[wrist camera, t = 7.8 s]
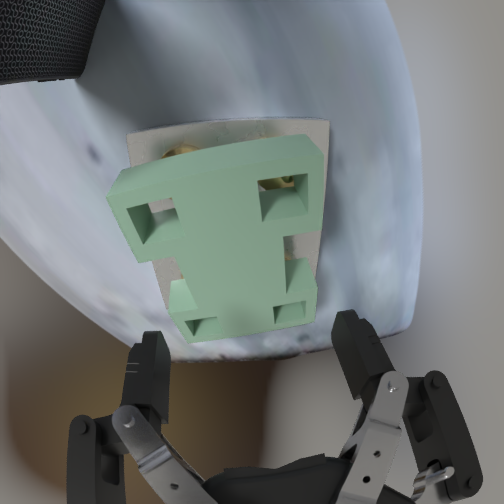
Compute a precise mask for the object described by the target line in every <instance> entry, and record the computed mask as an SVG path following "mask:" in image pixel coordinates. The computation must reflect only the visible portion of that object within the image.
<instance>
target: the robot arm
mask: <svg viewBox="0 0 504 504" xmlns="http://www.w3.org/2000/svg"><path fill="white" fill-rule="evenodd" d="M331 339H332V343H333V346H334V349H335V351H336V354H337V356H338V359H339V362H340V364H341V367H342V370H343V372H344V375H345V378H346V380H347V383H348V386H349V388H350V391H351V394H352V397H353V399H354V400H356V399H360V398H361V399H362V402H363V404H362V406H361V409H360V412H359V414H358V417H357V419H356V422H355V424H354V427H353V429H352V432H351V434H350V436H349V438H348V440H347V442H346V443H345V445H344V447H343V448H342V451H341V453H340V455H339V457H338V458H335V457H325V455H324V453H323V454H319V455H315V456H311V457H306V458H301V459H299V460H296V461H294V462H292V463H289V464H287V465H285V466H282V467H280V468H277V469H269V468H257V467H239V468H226V469H224V472H222V473H219V474H217V475H214V476H213V477H211V478H209V479H208V480H206V481H205V480H204V479H203V478H202V477H201V476H200V475H199V474H198V473H197V472H196V471H195V470H194V469H193V468H192V467H191V466H190V465H189V464H188V463H187V462H186V461H185V460H184V459H183V458H182V457H181V456H180V455H179V454H178V452H177V451H176V450H175V449H174V448H173V447H172V445H171V444H170V443H169V442H168V441H167V439H166V438H165V437H164V436H163V434H162V433H161V424H168V412H169V384H170V366H171V357H170V351H169V348H168V346H167V344H166V341H165V339H164V337H163V334H162V332H161V331H145V332H144V333H143V338H142V343H135V344H134V346H133V347H132V349H131V350H130V352H129V356H128V362H127V363H128V365H127V367H126V373H125V380H124V387H123V393H122V401H121V404H120V406H119V408H118V409H116V410H115V412H114V413H113V414H111V415H109V416H105V417H101V418H96V419H91V418H90V417H89V416H86V415H79V416H77V417H75V418H74V419H73V420H72V422H71V424H70V430H69V440H68V453H67V504H126V497H125V483H124V454H127V453H131V455H132V456H133V457H134V459H135V460H136V462H137V463H138V465H139V467H138V468H139V471H140V472H141V474H142V475H143V477H144V478H145V479H146V481H147V482H148V483H149V484H150V485H151V487H152V488H153V489H154V491H155V492H156V493H157V494H158V495H159V496H160V498H161V499H162V500H163V501H164V502H165V503H166V504H450V503H451V502H454V501H458V500H461V499H465V498H468V497H472V496H473V495H475V494H476V493H477V492H478V491H479V489H480V488H481V486H482V482H483V475H482V471H481V468H480V464H479V461H478V457H477V454H476V451H475V448H474V445H473V442H472V439H471V436H470V433H469V431H468V428H467V425H466V423H465V420H464V417H463V415H462V412H461V410H460V407H459V405H458V403H457V400H456V398H455V396H454V393H453V391H452V389H451V386H450V384H449V383H448V380H447V378H446V376H445V375H444V374H443V373H441V372H440V371H430V372H429V373H427V374H426V376H425V377H405V376H404V375H403V374H402V373H400V372H397V371H396V370H395V369H394V367H393V365H392V363H391V361H390V359H389V357H388V355H387V353H386V351H385V349H384V347H383V345H382V343H380V339H379V337H378V336H377V333H376V332H375V330H374V328H373V326H372V325H371V324H370V323H369V322H368V321H367V320H366V319H365V318H363V319H359V317H358V315H357V314H356V312H355V310H353V309H351V310H346V311H340V312H338V313H337V315H336V318H335V322H334V325H333V329H332V332H331ZM401 417H402V418H403V421H404V424H405V427H406V430H407V433H408V436H409V439H410V443H411V446H412V449H413V453H414V456H415V460H416V463H417V467H418V470H419V473H418V474H417V475H416V477H415V479H414V483H413V487H414V492H413V495H412V496H411V498H409V497H407V496H405V495H403V494H401V493H400V492H397V491H396V490H394V489H392V488H390V487H388V486H387V485H385V484H384V483H385V480H386V478H387V475H388V473H389V470H390V467H391V465H392V462H393V459H394V456H395V453H396V449H397V447H398V444H399V441H400V437H401V433H402V430H401V428H400V427H399V424H400V421H401Z"/></svg>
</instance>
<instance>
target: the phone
mask: <svg viewBox="0 0 504 504" xmlns="http://www.w3.org/2000/svg"><path fill="white" fill-rule="evenodd" d="M105 1H106V0H0V85H5V84H12V83H19V82H28V81H38V82H47V81H56V80H57V79H59V80H65V79H76V78H79V77H80V76H81V74H82V73H83V71H84V68H85V65H86V61H87V57H88V53H89V49H90V46H91V42H92V39H93V35H94V32H95V29H96V26H97V23H98V20H99V17H100V14H101V11H102V9H103V6H104V3H105Z"/></svg>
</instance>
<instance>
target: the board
mask: <svg viewBox="0 0 504 504" xmlns="http://www.w3.org/2000/svg"><path fill="white" fill-rule="evenodd" d="M290 175H293V177H294V186H292V187H285V188H278V189H272V190H266V191H260V192H258V184H257V181H258V180H264V179H270V178H277V177H283V176H290ZM323 194H324V153H323V152H322V151H321V150H320V149H319V148H318V147H317V146H316V145H315V144H314V143H313V141H312V140H311V139H310V138H309V137H308V136H307V135H306V134H296V135H287V136H279V137H271V138H264V139H257V140H251V141H244V142H238V143H233V144H227V145H222V146H216V147H211V148H206V149H202V150H197V151H192V152H188V153H184V154H179V155H175V156H171V157H167V158H163V159H159V160H156V161H152V162H148V163H145V164H141V165H138V166H134V167H131V168H127V169H124V170H122V171H121V172H120V174H119V176H118V177H117V179H116V181H115V182H114V184H113V186H112V187H111V189H110V191H109V192H108V194H107V196H106V199H107V201H108V204H109V206H110V208H111V210H112V212H113V214H114V216H115V218H116V220H117V222H118V224H119V227H120V229H121V231H122V233H123V234H124V236H125V238H126V240H127V242H128V244H129V246H130V248H131V250H132V252H133V254H134V256H135V257H136V259H137V261H138V263H142V262H147V261H153V260H158V259H163V258H168V257H175V259H176V262H177V264H178V266H179V269H180V271H181V273H182V275H183V277H184V279H180V280H174V281H171V286H170V297H169V309H168V314H169V315H170V317H171V318H172V320H173V322H174V323H175V325H176V326H177V328H178V329H179V331H180V332H181V334H182V335H183V337H184V338H185V340H186V341H187V343H195V342H203V341H211V340H218V339H225V338H232V337H238V336H245V335H251V334H256V333H262V332H268V331H273V330H278V329H284V328H289V327H294V326H298V325H303V324H308V323H312V322H314V321H315V312H316V302H317V292H318V286H317V283H316V281H315V278H314V275H313V273H312V270H311V267H310V265H309V262H308V259H307V257H304V258H299V259H293V260H288V261H285V259H284V243H283V237H284V236H290V235H296V234H301V233H307V232H313V231H319V230H322V221H323ZM171 197H172V200H173V203H174V206H175V208H172V209H168V210H163V211H159V212H154V213H152V212H151V210H150V207H149V205H148V203H150V202H154V201H158V200H162V199H167V198H171Z"/></svg>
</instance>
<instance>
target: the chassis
mask: <svg viewBox="0 0 504 504" xmlns="http://www.w3.org/2000/svg"><path fill="white" fill-rule="evenodd" d="M329 127H330V121H329V120H326V119H322V118H297V117H263V118H237V119H222V120H210V121H199V122H190V123H182V124H175V125H168V126H161V127H155V128H149V129H143V130H138V131H133V132H130V133H129V134H127V135H126V139H127V146H128V152H129V159H130V164H131V167H134V166H138V165H141V164H145V163H148V162H152V161H156V160H159V159H163V158H167V157H171V156H175V155H179V154H184V153H188V152H192V151H197V150H202V149H206V148H211V147H216V146H222V145H227V144H233V143H238V142H244V141H251V140H257V139H264V138H271V137H279V136H287V135H296V134H306V135H307V136H308V137H309V138H310V139H311V140H312V141H313V143H314V144H315V145H316V146H317V147H318V148H319V149H320V150H321V151H322V152H323V153H324V194H323V211H324V201H325V190H326V178H327V164H328V148H329ZM257 184H258V192H260V191H266V190H272V189H278V188H285V187H292V186H294V177H293V175H290V176H283V177H277V178H270V179H264V180H258V181H257ZM148 205H149V207H150V210H151V212H152V213H154V212H159V211H163V210H168V209H172V208H175V206H174V203H173V200H172V197H171V198H167V199H162V200H158V201H154V202H150V203H148ZM320 239H321V230H319V231H313V232H307V233H301V234H296V235H290V236H284V237H283V243H284V259H285V261H288V260H293V259H299V258H304V257H307V259H308V262H309V265H310V267H311V270H312V273H313V275H314V278H315V277H316V269H317V262H318V255H319V247H320ZM152 263H153V266H154V270H155V273H156V277H157V280H158V284H159V287H160V290H161V293H162V297H163V300H164V303H165V306H166V309H169V297H170V286H171V281H174V280H180V279H184V277H183V275H182V273H181V271H180V269H179V266H178V264H177V262H176V259H175V257H168V258H163V259H158V260H153V261H152Z"/></svg>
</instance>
